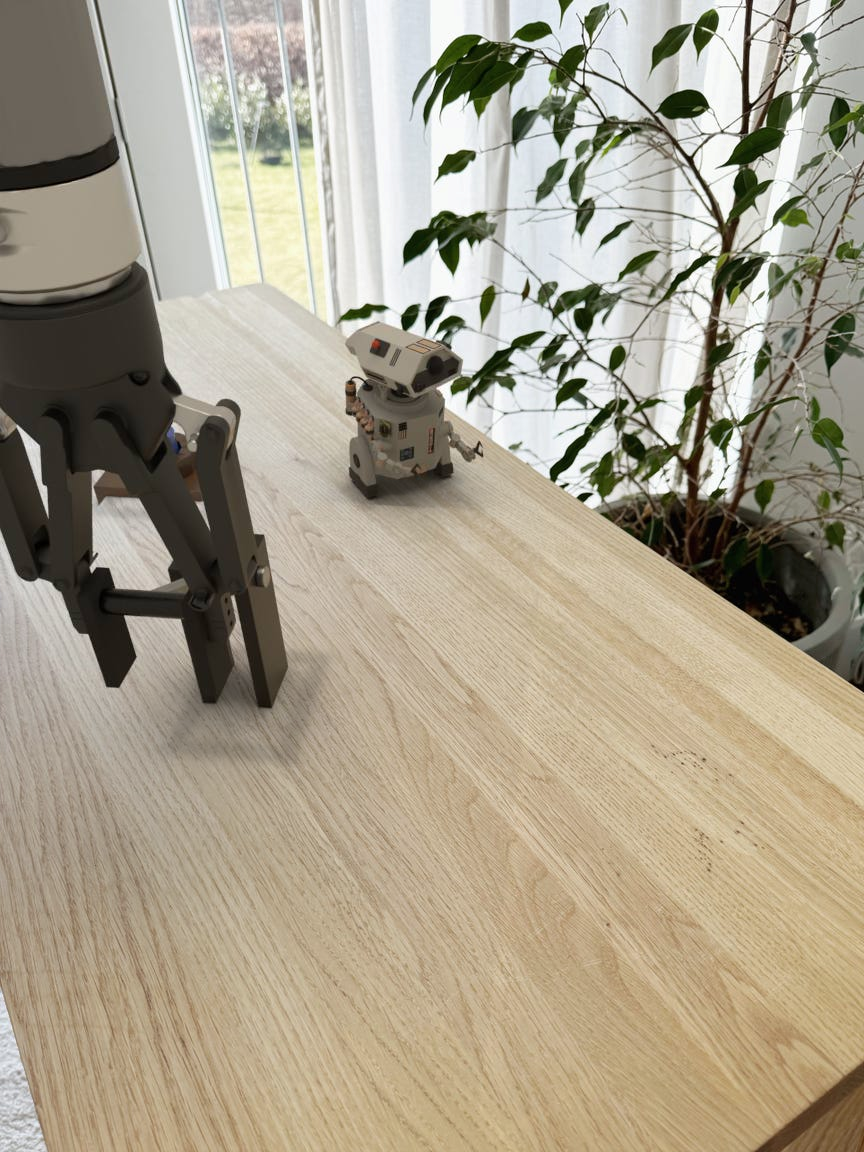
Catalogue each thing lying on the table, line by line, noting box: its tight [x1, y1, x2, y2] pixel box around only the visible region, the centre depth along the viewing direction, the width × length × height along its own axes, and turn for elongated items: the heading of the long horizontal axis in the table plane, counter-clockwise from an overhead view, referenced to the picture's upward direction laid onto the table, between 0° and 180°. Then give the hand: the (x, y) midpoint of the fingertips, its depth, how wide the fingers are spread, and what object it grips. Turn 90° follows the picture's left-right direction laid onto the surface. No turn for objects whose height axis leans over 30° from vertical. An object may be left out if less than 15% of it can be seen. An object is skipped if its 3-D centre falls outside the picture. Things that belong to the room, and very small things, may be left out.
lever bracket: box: [167, 533, 289, 709], centre depth 68 cm, size 10×8×13 cm
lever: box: [99, 578, 234, 620], centre depth 60 cm, size 13×5×2 cm, turn 173°
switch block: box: [92, 431, 203, 506], centre depth 93 cm, size 10×8×4 cm
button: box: [167, 426, 179, 454], centre depth 91 cm, size 4×4×2 cm
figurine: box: [344, 320, 484, 499], centre depth 89 cm, size 9×12×15 cm
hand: (169, 674), depth 58 cm, fingers closed on lever, 5 cm apart
